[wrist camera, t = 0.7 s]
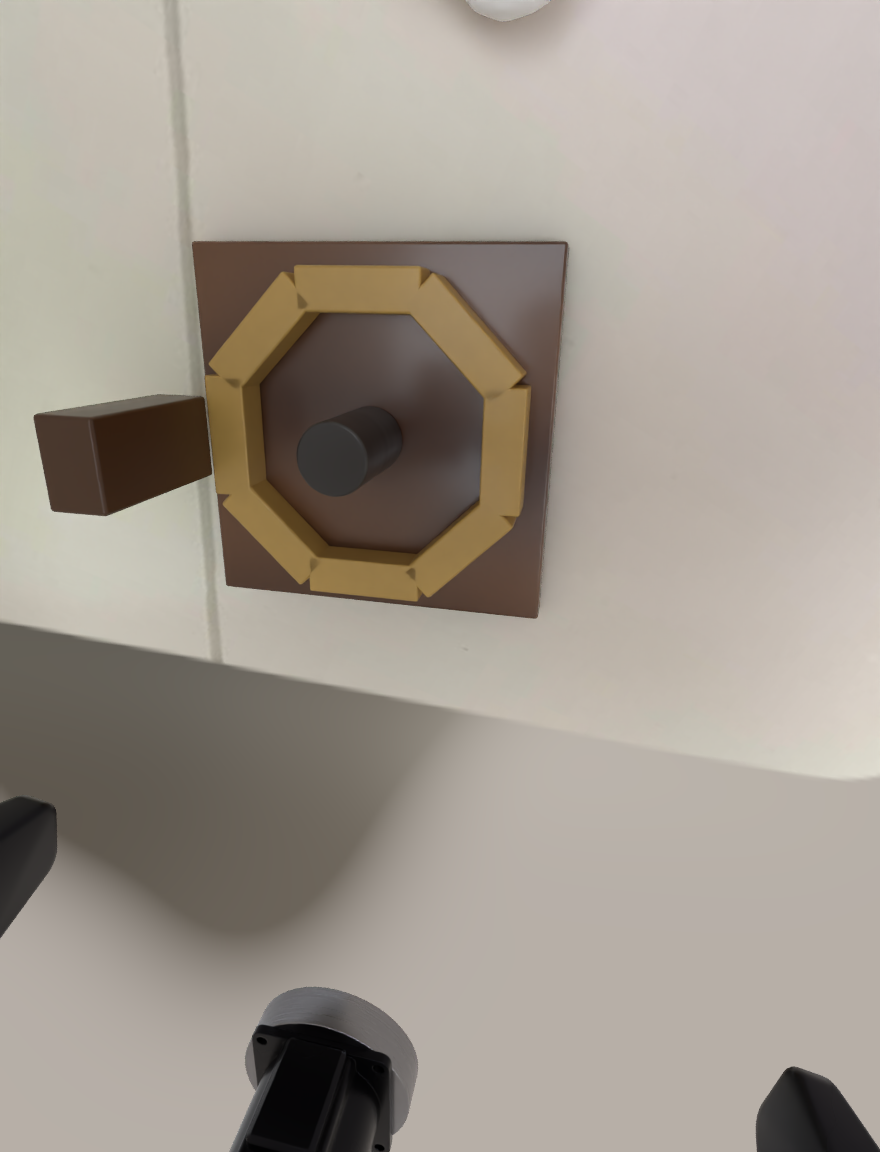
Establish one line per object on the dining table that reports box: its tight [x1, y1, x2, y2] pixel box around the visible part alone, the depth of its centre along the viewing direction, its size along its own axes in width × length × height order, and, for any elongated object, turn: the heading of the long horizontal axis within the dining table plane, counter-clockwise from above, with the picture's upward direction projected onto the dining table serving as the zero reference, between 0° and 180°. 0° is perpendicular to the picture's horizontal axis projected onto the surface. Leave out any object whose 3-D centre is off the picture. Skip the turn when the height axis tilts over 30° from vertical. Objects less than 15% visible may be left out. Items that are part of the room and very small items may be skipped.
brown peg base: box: [192, 241, 569, 619], centre depth 19 cm, size 11×11×4 cm
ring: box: [34, 265, 531, 602], centre depth 18 cm, size 10×11×6 cm
